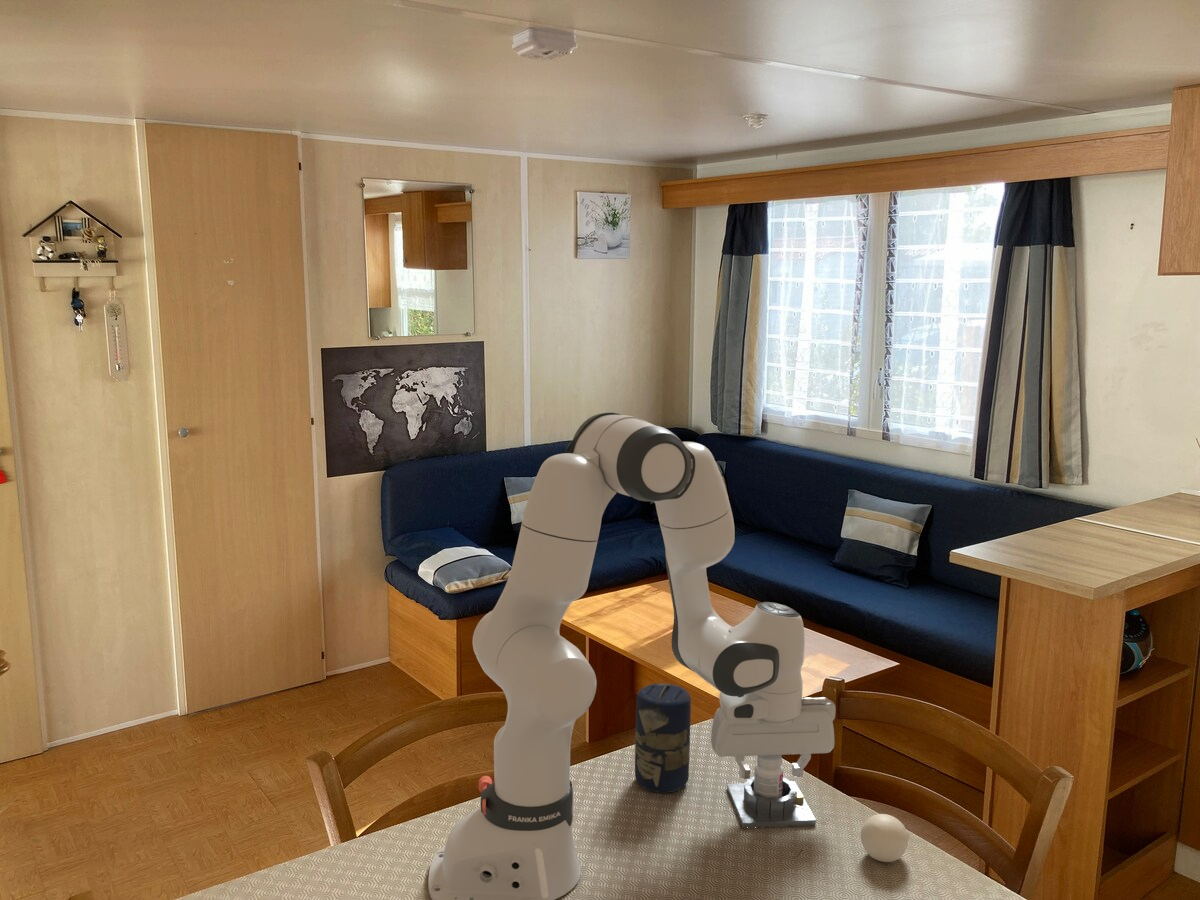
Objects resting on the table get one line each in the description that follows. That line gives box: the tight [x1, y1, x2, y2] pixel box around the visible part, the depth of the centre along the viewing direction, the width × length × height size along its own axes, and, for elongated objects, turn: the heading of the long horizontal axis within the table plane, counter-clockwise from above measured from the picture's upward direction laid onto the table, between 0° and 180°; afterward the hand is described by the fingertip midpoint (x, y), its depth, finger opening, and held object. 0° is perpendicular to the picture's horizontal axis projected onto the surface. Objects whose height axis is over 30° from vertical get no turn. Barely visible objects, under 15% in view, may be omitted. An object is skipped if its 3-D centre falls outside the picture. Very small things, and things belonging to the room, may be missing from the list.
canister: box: [634, 682, 692, 793], centre depth 168 cm, size 10×10×18 cm
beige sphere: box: [860, 813, 910, 863], centre depth 148 cm, size 7×7×7 cm
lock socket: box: [726, 775, 817, 829], centre depth 162 cm, size 12×12×4 cm
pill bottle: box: [753, 755, 784, 798], centre depth 161 cm, size 5×5×8 cm
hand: (771, 776), depth 161 cm, fingers open, 8 cm apart
